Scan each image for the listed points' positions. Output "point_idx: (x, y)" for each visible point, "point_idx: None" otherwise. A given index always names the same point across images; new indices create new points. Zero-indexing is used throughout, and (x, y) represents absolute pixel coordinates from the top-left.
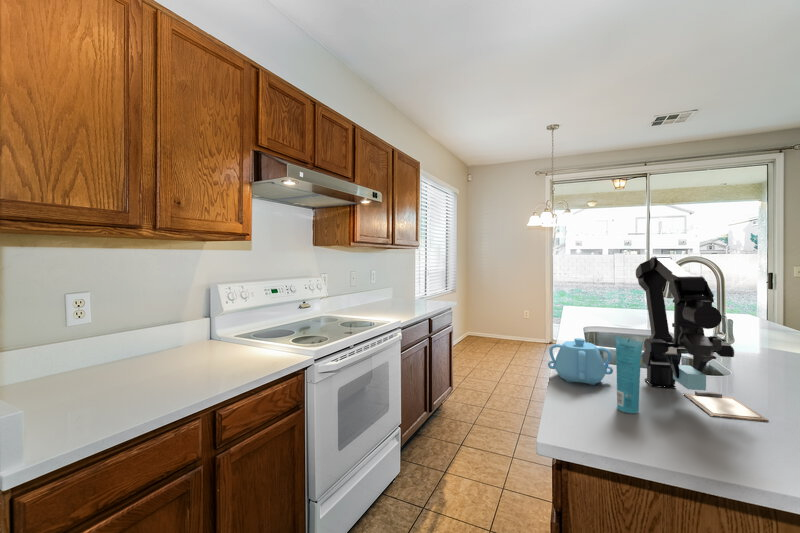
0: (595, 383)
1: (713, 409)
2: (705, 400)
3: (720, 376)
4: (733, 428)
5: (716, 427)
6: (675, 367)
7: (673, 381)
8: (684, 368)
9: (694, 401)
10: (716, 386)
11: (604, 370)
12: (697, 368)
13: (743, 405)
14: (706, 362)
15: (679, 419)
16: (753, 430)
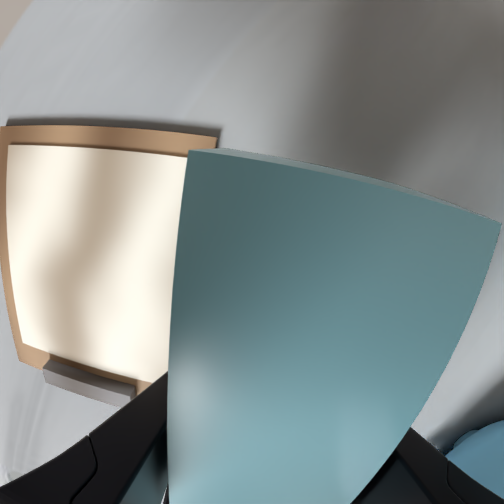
0: (459, 441)
1: (152, 213)
2: (126, 332)
3: (24, 472)
4: (204, 6)
5: (286, 8)
6: (437, 458)
7: None
8: (314, 474)
9: None
10: (42, 439)
11: None
12: (152, 462)
13: (8, 283)
14: (5, 495)
15: (415, 97)
16: (125, 6)
